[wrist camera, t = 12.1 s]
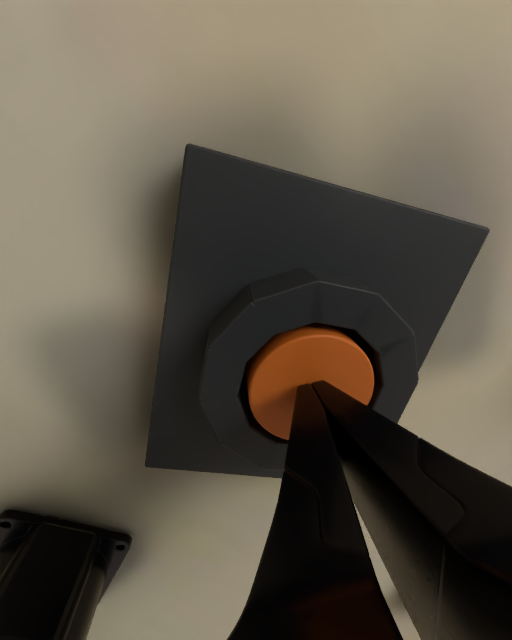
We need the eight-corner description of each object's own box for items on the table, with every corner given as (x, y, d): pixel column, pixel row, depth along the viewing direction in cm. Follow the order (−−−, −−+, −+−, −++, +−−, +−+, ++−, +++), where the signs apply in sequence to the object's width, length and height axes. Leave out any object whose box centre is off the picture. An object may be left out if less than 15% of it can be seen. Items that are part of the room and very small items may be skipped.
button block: (347, 456, 15) (381, 525, 12) (153, 437, 13) (130, 511, 10) (454, 224, 11) (549, 233, 8) (192, 152, 9) (174, 124, 6)
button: (332, 414, 12) (349, 448, 10) (234, 401, 11) (236, 436, 9) (368, 324, 10) (395, 347, 9) (259, 303, 9) (266, 324, 8)
